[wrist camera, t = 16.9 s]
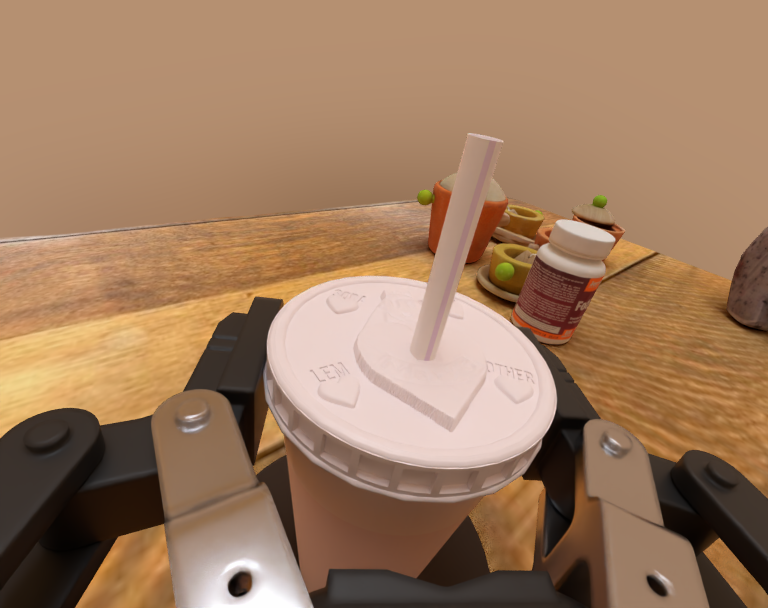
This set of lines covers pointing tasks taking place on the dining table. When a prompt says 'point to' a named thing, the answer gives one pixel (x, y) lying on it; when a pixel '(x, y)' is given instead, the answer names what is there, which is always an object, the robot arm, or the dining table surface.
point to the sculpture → (751, 285)
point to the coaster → (446, 568)
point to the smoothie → (402, 402)
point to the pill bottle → (562, 281)
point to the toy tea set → (508, 234)
